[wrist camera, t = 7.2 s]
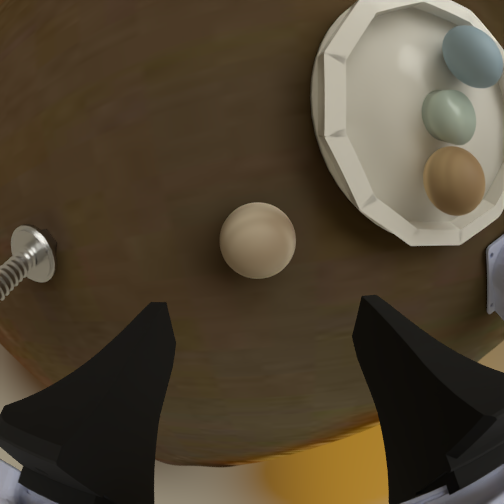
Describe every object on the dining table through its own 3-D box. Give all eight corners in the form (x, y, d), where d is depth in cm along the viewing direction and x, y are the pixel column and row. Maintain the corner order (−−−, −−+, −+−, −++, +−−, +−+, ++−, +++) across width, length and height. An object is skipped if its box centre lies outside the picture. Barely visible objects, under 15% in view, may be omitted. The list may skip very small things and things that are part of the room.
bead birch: (301, 236, 19) (315, 270, 15) (245, 267, 20) (245, 305, 16) (268, 180, 18) (275, 201, 14) (209, 216, 18) (199, 245, 15)
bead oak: (460, 165, 16) (499, 158, 12) (452, 222, 17) (493, 226, 12) (415, 142, 16) (452, 127, 12) (405, 204, 17) (445, 202, 12)
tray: (523, 179, 17) (541, 188, 14) (376, 276, 21) (389, 295, 18) (454, -16, 10) (473, -23, 7) (251, 43, 14) (252, 31, 11)
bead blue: (481, 80, 13) (522, 82, 9) (446, 95, 14) (489, 97, 10) (457, 26, 11) (496, 18, 7) (419, 36, 12) (459, 25, 8)
